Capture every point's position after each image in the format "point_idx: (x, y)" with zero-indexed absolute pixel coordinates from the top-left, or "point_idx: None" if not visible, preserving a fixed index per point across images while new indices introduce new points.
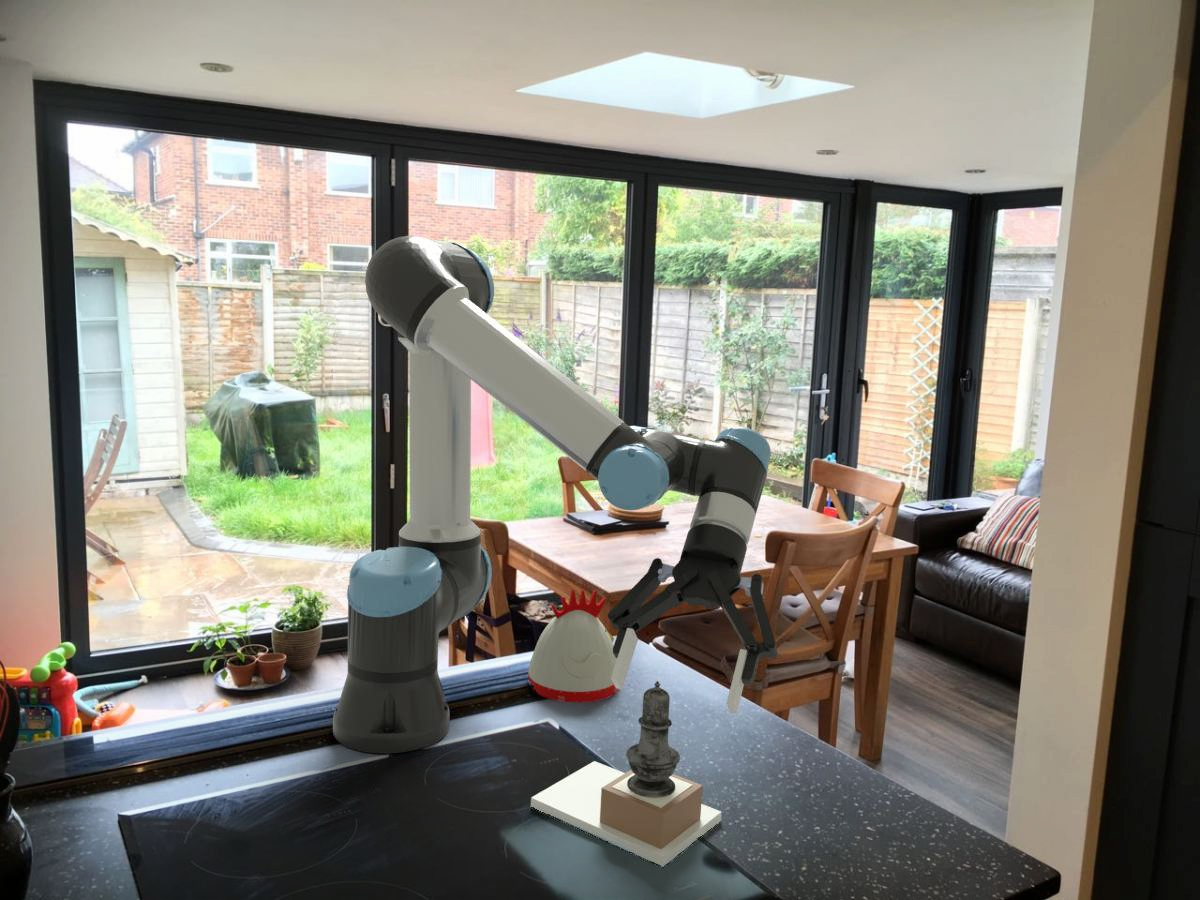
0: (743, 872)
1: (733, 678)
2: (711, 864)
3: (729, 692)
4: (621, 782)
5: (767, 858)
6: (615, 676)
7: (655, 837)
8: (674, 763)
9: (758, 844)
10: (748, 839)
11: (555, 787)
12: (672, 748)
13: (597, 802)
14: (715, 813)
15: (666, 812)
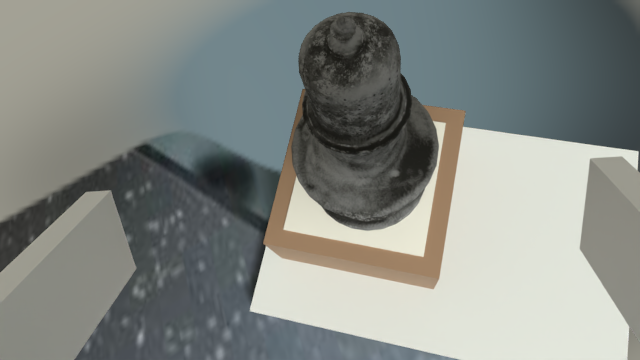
0: (181, 170)
1: (52, 247)
2: (235, 164)
3: (88, 211)
4: None
5: (150, 232)
6: (607, 163)
7: None
8: (295, 130)
9: (172, 269)
10: (192, 276)
11: None
12: (328, 203)
13: (500, 207)
14: (259, 295)
15: (300, 100)
